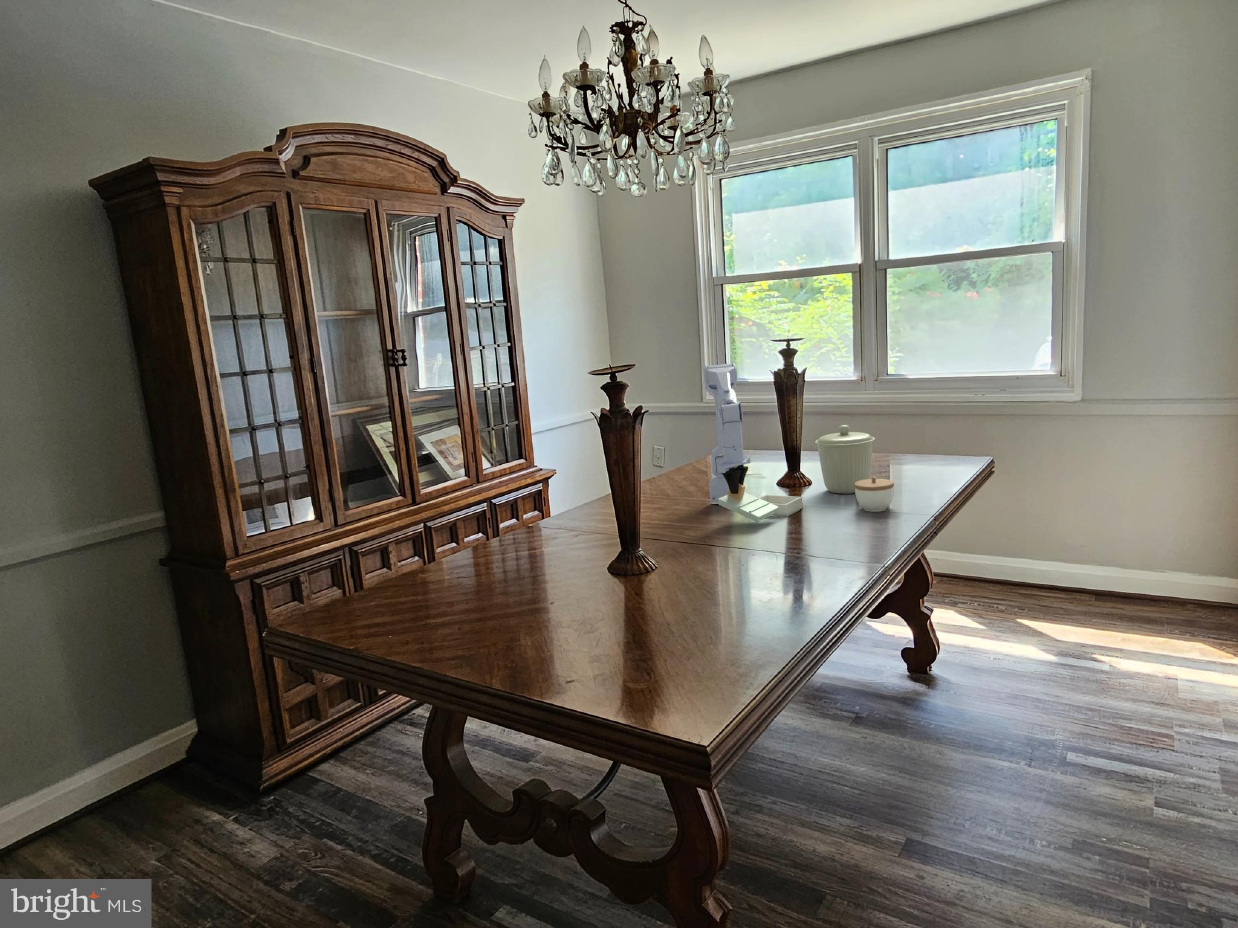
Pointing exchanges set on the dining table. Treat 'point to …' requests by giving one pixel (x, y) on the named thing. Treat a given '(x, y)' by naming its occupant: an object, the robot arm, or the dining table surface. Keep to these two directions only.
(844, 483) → the canister
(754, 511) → the lid
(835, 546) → the dining table surface
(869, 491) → the lidded jar
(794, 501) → the parts tub
